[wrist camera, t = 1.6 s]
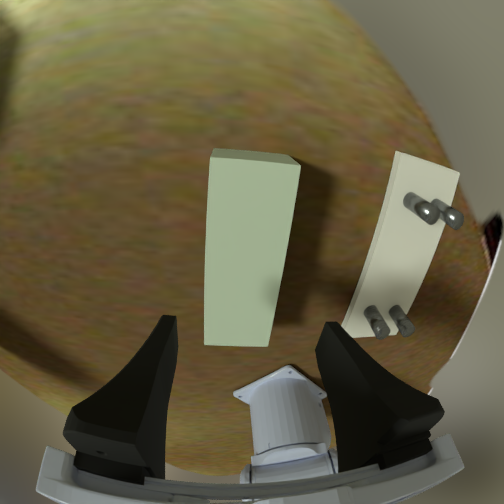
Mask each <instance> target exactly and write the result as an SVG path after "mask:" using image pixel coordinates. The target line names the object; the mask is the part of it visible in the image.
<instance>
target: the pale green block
mask: <svg viewBox="0 0 504 504" xmlns="http://www.w3.org/2000/svg"><path fill="white" fill-rule="evenodd" d="M300 169H301V165H300V164H298V163H297V162H296V161H295V160H294V159H292V158H291V157H290V156H289V155H284V154H276V153H266V152H256V151H245V150H233V149H218V148H214V149H213V152H212V154H211V157H210V169H209V184H208V202H207V222H206V248H205V288H204V345H222V346H268V343H269V338H270V334H271V329H272V324H273V319H274V314H275V309H276V304H277V299H278V294H279V289H280V284H281V279H282V273H283V268H284V263H285V257H286V252H287V246H288V241H289V235H290V230H291V224H292V218H293V212H294V206H295V200H296V194H297V188H298V182H299V176H300Z"/></svg>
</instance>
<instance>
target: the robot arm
mask: <svg viewBox="0 0 504 504" xmlns="http://www.w3.org/2000/svg"><path fill="white" fill-rule="evenodd" d="M315 352H316V358H317V363H318V368H319V371H320V375H321V378H322V381H323V384H324V387H325V390H326V392H325V391H324V390H322V389H321V388H320V387H318V386H317V385H316V384H314V383H313V382H312V381H310V380H309V379H308V378H306V377H305V376H304V375H303V374H301V373H300V372H299V371H297V370H296V369H295V368H294V367H292V366H291V365H287V366H284V367H283V368H281V369H279V370H277V371H275V372H273V373H271V374H269V375H267V376H265V377H263V378H261V379H259V380H257V381H255V382H253V383H251V384H249V385H247V386H245V387H243V388H241V389H238V390H236V391H234V392H233V395H234V396H235V397H236V398H238V399H240V400H242V401H244V402H245V403H247V404H249V405H250V413H251V424H252V434H253V444H254V455H255V456H251V462H252V464H247V465H246V466H245V468H244V469H243V470H242V471H241V475H240V484H215V483H214V484H213V483H195V482H194V483H193V482H183V481H173V480H165V441H166V423H167V410H168V403H169V398H170V393H171V388H172V383H173V378H174V373H175V369H176V363H177V353H178V336H177V320H176V316H170V315H163V316H161V318H160V320H159V322H158V323H157V325H156V327H155V328H154V330H153V331H152V333H151V334H150V336H149V337H148V339H147V340H146V341H145V343H144V344H143V346H142V347H141V348H140V349H139V351H138V352H137V353H136V354H135V356H134V357H133V358H132V359H131V360H130V362H129V363H128V364H127V365H126V366H125V367H124V368H123V369H122V370H121V371H120V372H119V373H118V374H117V375H116V376H115V377H114V378H113V379H112V380H110V381H109V382H108V383H107V384H106V385H105V386H103V387H102V388H101V389H99V390H98V391H97V392H95V393H94V394H93V395H91V396H90V397H88V398H87V399H85V400H83V401H82V402H80V403H79V404H77V405H75V406H73V407H72V409H71V411H70V413H69V415H68V417H67V420H66V424H65V427H64V430H63V436H64V437H65V439H66V440H67V441H68V442H69V443H70V444H71V445H72V446H73V447H74V448H75V449H76V450H77V451H76V455H75V456H74V455H72V454H70V453H67V452H65V451H62V450H59V449H56V448H54V447H51V446H46V450H45V453H44V457H43V461H42V465H41V469H40V473H39V477H38V482H37V487H36V491H37V492H38V493H40V494H42V495H44V496H46V497H47V498H49V499H51V500H53V501H55V502H58V503H59V504H397V503H399V502H401V501H404V500H406V499H408V498H411V497H413V496H415V495H417V494H420V493H421V492H424V491H426V490H428V489H430V488H432V487H434V486H436V485H438V484H439V483H441V482H443V481H444V480H446V479H448V478H449V477H451V476H453V475H454V474H456V473H457V472H459V471H460V470H462V469H463V468H464V465H463V462H462V460H461V458H460V455H459V453H458V451H457V448H456V446H455V444H454V442H453V440H452V437H451V435H450V434H449V433H448V434H445V435H443V436H441V437H439V438H436V439H434V440H433V441H431V442H430V441H429V439H428V438H429V437H430V436H431V434H430V431H429V430H430V429H431V428H432V427H433V426H434V425H435V424H436V423H438V422H439V421H440V419H441V418H442V417H443V415H444V410H443V408H442V406H441V404H440V402H439V400H438V399H437V398H434V397H432V396H430V395H427V394H425V393H423V392H421V391H419V390H417V389H415V388H413V387H411V386H409V385H408V384H406V383H404V382H403V381H401V380H400V379H398V378H397V377H395V376H394V375H392V374H391V373H390V372H388V371H387V370H386V369H384V368H383V367H382V366H381V365H380V364H378V363H377V362H376V361H375V360H374V359H373V358H372V357H371V356H370V355H369V354H367V353H366V352H365V351H364V350H363V349H362V348H361V347H360V346H359V344H358V343H357V342H356V341H355V340H354V339H353V338H352V337H351V336H350V335H349V334H348V333H347V332H346V331H345V330H344V328H343V327H342V326H341V325H340V324H339V323H338V322H326V323H325V325H324V328H323V331H322V333H321V336H320V339H319V341H318V344H317V346H316V349H315ZM325 397H328V400H329V403H330V407H331V411H332V417H333V422H334V429H335V436H336V445H337V451H336V450H335V449H329V450H328V448H329V446H330V443H331V433H330V429H329V425H328V422H327V418H326V414H325V411H324V407H323V404H322V400H321V399H323V398H325ZM327 450H328V451H327ZM207 499H212V500H213V499H214V500H216V499H217V500H242V501H243V502H229V503H228V502H227V503H210V501H209V500H207Z"/></svg>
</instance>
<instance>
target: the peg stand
mask: <svg viewBox="0 0 504 504" xmlns="http://www.w3.org/2000/svg"><path fill="white" fill-rule="evenodd" d="M459 175H460V173H459V172H457V171H454V170H452V169H449V168H447V167H444V166H441V165H438V164H436V163H433V162H430V161H427V160H424V159H421V158H418V157H415V156H412V155H408V154H405V153H402V152H399V151H396V152H395V156H394V161H393V165H392V170H391V174H390V178H389V182H388V186H387V190H386V194H385V198H384V202H383V205H382V209H381V213H380V216H379V220H378V223H377V226H376V230H375V233H374V236H373V240H372V243H371V246H370V249H369V252H368V255H367V258H366V261H365V264H364V267H363V270H362V273H361V276H360V278H359V281H358V284H357V287H356V289H355V292H354V295H353V297H352V300H351V303H350V305H349V308H348V310H347V313H346V315H345V318H344V320H343V323H342V325H341V326H342V327H343V328H344V330H345V331H346V332H347V333H348V334H349V335H350V336H351V337H352V338H354V337H371V336H376V338H377V339H379V340H381V339H384V338H386V337H387V336H388V335H396V334H397V332H398V330H399V331H400V333H401V334H402V336H403V337H408V336H410V335H411V334H412V333H413V332H414V330H415V327H414V325H413V324H412V322H411V321H410V320H409V318H408V317H407V313H408V311H409V309H410V307H411V305H412V303H413V301H414V299H415V297H416V295H417V292H418V290H419V288H420V286H421V284H422V282H423V279H424V277H425V275H426V272H427V270H428V268H429V265H430V263H431V260H432V258H433V255H434V253H435V250H436V248H437V245H438V242H439V240H440V237H441V234H442V231H443V228H444V226H445V223H446V224H448V225H449V226H450V227H452V228H453V229H455V230H457V229H459V228H460V227H461V226H462V224H463V221H464V216H463V214H462V213H460V212H459V211H457V210H455V209H454V208H452V207H451V204H452V201H453V197H454V194H455V190H456V186H457V183H458V179H459Z"/></svg>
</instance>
